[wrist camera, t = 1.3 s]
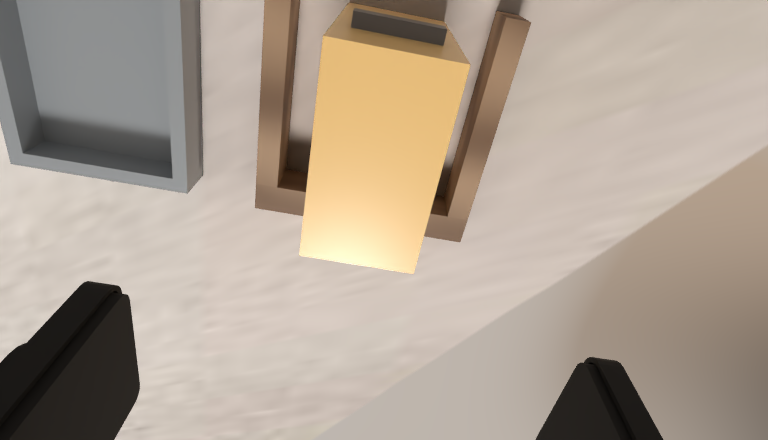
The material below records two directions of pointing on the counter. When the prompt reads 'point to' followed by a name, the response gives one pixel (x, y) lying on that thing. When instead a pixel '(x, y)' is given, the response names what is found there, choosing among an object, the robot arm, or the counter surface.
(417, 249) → the yellow block
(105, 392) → the robot arm
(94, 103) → the grey tray
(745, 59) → the counter surface
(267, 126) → the walnut bay
